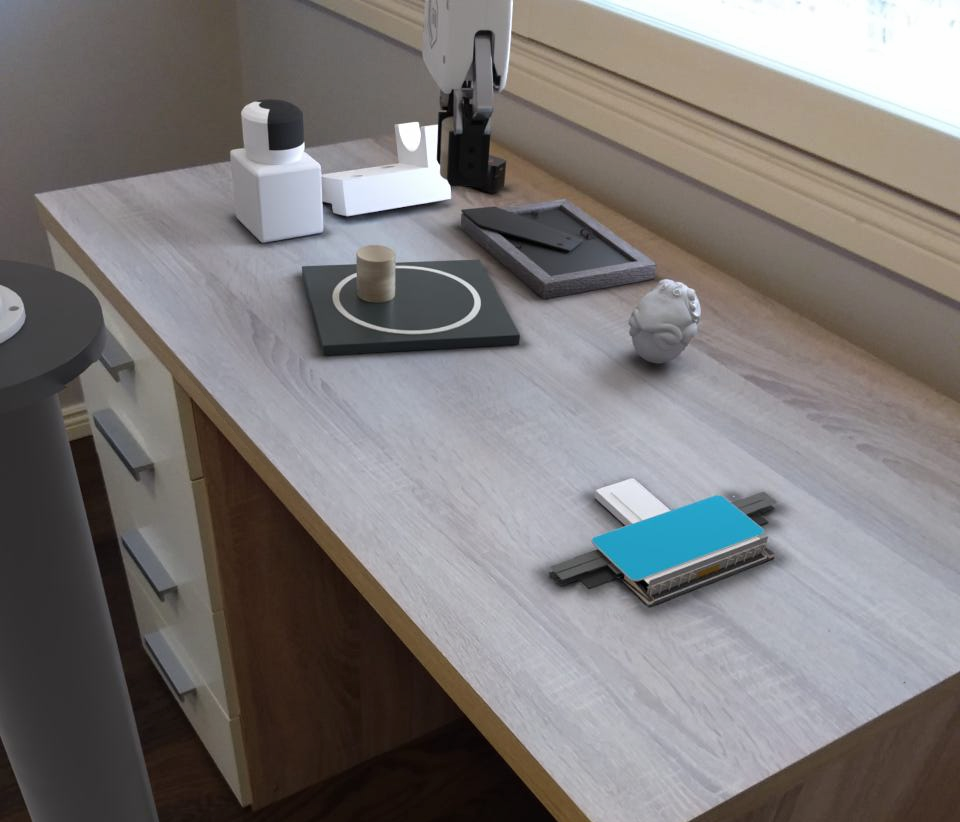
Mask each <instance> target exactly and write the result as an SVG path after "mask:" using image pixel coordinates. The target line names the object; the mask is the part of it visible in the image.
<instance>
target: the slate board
mask: <svg viewBox="0 0 960 822" xmlns="http://www.w3.org/2000/svg"><path fill="white" fill-rule="evenodd" d="M301 276H302V279H303V283H304V287H305V291H306V294H307V298H308V302H309V306H310V311H311V314H312V318H313V321H314V325H315V328H316V329H315V330H316V333H317V337H318V340H319V345H320V348H321V351H322V355H323V356H335V355H353V354H354V355H355V354H372V353H373V354H374V353H389V352H391V353H392V352H405V351H407V352H408V351H426V350H427V351H428V350H443V349H445V350H446V349H461V348H476V347H477V348H479V347H495V346H496V347H497V346H515V345H520V340H521V334H520V332H519V330H518V329H517V326H516V325H515V322H514V321H513V319H512V318H511V315H510V313H509V312H508V310H507V308H506V306H505V304H504V302H503V300H502V299H501V297H500V295H499V293H498V291H497V289H496V287H495V286H494V283H493V281H492V280H491V278H490V277H489V274H488V273H487V271H486V269H485V267H484V265H483V263H482V262H481V259H479V258H477V259H453V260H430V261H429V260H428V261H427V260H425V261H404V262H403V261H402V262H401V261H400V262H396V265H395V297H394V298H393V299H392V300H390V301H387V302H382V303H373V302H368V301H364V300H362V299H361V298H359V297H358V295H357V263H353V264H352V263H351V264H323V265H322V264H321V265H302V266H301Z"/></svg>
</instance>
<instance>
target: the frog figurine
mask: <svg viewBox="0 0 960 822" xmlns="http://www.w3.org/2000/svg"><path fill="white" fill-rule="evenodd" d="M701 315H702V309H701V304H700V301H699V297H698V296H697V294H696V290H694V289H693V288H689V287H688V286H687V285H686V284H685V283H683V282H680V281H676V280H675V281H674V280H672V279H667V278H664V279H660V280H659V281H658V283H657V285H656V286H655V287H653V288H652V289H650V291H649V292H648V293H647V294H645V295H643V296H642V297H641V298H640V300H639V301H638V302H637V303H636V308H635V309H633V310H632V312H631V314H630V317H629V319H628V325H629V326H630V328H629V331H628V334H629V336H630V337H631V342H632V345H633V348H634V350H635V352H636V353H637V355H639V357H640V358H641V359H643V360H645V361H646V362H649V363H651V364H665V363H669V362H671V361H673V360H674V359H676V358H677V357H679V355H681V354H682V352H684V351H685V349H686V347H688V346H689V344H690V342H691V339H692V338H694V337H695V336H696V335H697V333H698V324H699V323H700V320H701Z"/></svg>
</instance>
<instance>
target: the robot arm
mask: <svg viewBox="0 0 960 822" xmlns="http://www.w3.org/2000/svg"><path fill="white" fill-rule="evenodd" d="M513 3H514V0H424V9H423V10H424V12H423V26H422V27H423V29H422V41H421V42H422V44H421V54H422V60H423V63H424V64H425V66H426V68H427V70H428V72H429V74H430V75H431V77H432V79H433V80H434V82H435V84H436V85H437V86H438V88H439V110H440V111H438V112H437V113H438V114H437V124H438V136H437V161H438V163H439V165H440V156H441V132H442V121H443V120H444V119H446V118H448V117H453V131H449V143H448V164H447V181H448V183H449V185H450V187H451V186H452V187H471V186H483V185H485V184H486V183H487V176H488V162H489V155H490V146H491V133H492V115H493V113H494V108H495V106H494V94H495V95H498V94H500V93H501V92H502V91H503V90H504V89H505V88H506V86H507V85H506V84H507V80H508V73H509V64H510V54H511V42H512V41H511V40H512V25H513V5H514V4H513ZM25 318H26V315H25V309H24V305H23V302H22V300H21V298H20V297H19V296H18V295H17V294H16V293H15V292H13V291H12V290H10V289H9V288H7V287H4V286H2V285H0V344H1V343H3V342H4V341H6V340H8V339H9V338H11V337H12V336H13V335H14V334H16V333H17V332H18V331H19V330H20V328H21V327H22V325H23V324H24V322H25Z"/></svg>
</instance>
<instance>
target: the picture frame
mask: <svg viewBox="0 0 960 822" xmlns="http://www.w3.org/2000/svg"><path fill="white" fill-rule="evenodd" d="M460 211H461V213H460V229H461V230H462V231H463V232H465V233H466V234H467V235H468V236H469V237H471V238H472V239H473V240H474V241H475V242H476V243H477V244H478V245H480V246H481V247H482V248H483V249H485V251H487V252H488V253H489V254H490V255H491V256H493V258H495V259H496V260H497V261H498V262H499V263H501V264H502V265H503V266H504V267H505V268H507V270H509V271H510V272H511V273H512V274H514V275H515V276H516V277H517V278H518V279H520V281H521V282H523V283H524V284H526V286H527V287H528V288H530V289H531V290H533V291H534V292H535V293H536V295H538V297H541V298H542V299H543V300H546V299H551V298H557V297H561V296H567V295H573V294H579V293H584V292H589V291H595V290H599V289H601V290H602V289H605V288H610V287H617V286H622V285H627V284H633V283H637V282H644V281H649V280H654V279H655V276H656V271H657V265H658V264H657V263H656V262H655V261H653V260H652V259H651V258H649V257H648V256H646V255H645V254H644V253H642V252H641V251H640V250H638V249H636V248H635V247H634V246H633V245H631V244H629V242H627V241H625V240H624V239H623V238H621V237H620V236H618V235H617V234H616V233H614V232H613V231H612V230H610V229H609V228H607V227H606V226H605V225H603V224H601V223H600V222H599V221H598V220H596V219H595V218H594V217H592V216H591V215H589V214H588V213H587V212H585V211H584V210H582V209H581V208H580V207H578V206H577V205H576V204H575V203H573V202H572V201H570V200H568V199H567V198H561V199H554V200H546V201H540V202H531V203H525V204H519V205H511V206H505V207H498V206H486V207H474V208H464V209H461V210H460Z"/></svg>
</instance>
